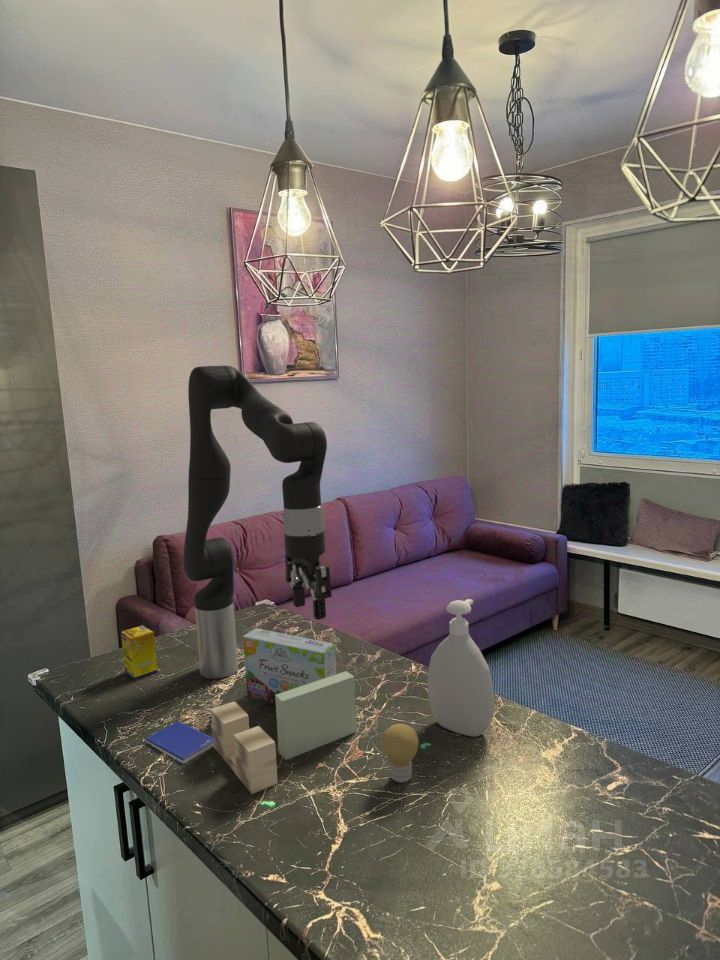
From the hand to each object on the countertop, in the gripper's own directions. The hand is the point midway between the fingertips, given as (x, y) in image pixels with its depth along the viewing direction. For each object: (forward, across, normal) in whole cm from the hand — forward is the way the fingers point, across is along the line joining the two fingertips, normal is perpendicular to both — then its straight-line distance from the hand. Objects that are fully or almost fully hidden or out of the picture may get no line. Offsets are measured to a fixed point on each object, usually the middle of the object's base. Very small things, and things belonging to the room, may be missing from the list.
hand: (309, 612), depth 125 cm
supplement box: (+26, -52, -22) cm, 62 cm away
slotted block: (+26, -1, -15) cm, 31 cm away
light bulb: (+27, +19, +7) cm, 34 cm away
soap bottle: (+27, +12, +26) cm, 40 cm away
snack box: (+27, -17, +2) cm, 32 cm away
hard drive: (+27, -15, -23) cm, 38 cm away
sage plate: (+27, 0, 0) cm, 27 cm away
